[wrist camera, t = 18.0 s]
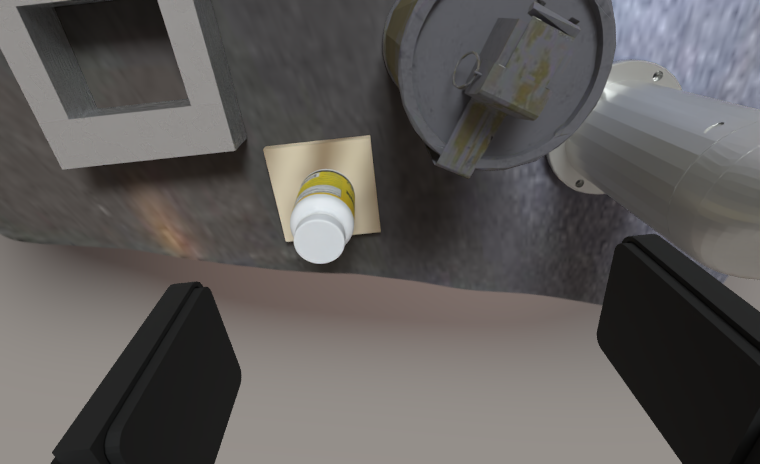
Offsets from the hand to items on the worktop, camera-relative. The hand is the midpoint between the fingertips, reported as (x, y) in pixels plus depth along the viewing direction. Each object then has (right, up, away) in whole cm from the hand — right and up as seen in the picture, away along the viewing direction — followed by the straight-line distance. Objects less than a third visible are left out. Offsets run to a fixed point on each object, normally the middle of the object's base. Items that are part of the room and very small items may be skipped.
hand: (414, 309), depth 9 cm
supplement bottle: (-6, +6, +30) cm, 31 cm away
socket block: (-22, +17, +24) cm, 37 cm away
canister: (+4, +18, +25) cm, 31 cm away
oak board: (-6, +6, +31) cm, 32 cm away
